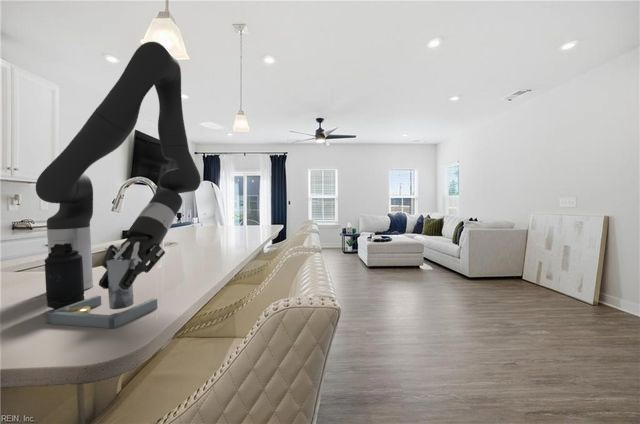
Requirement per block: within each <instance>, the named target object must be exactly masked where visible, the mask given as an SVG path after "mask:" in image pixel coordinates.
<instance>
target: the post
mask: <svg viewBox="0 0 640 424" xmlns="http://www.w3.org/2000/svg"><path fill="white" fill-rule="evenodd" d="M130 265H131V258H122V257H121V258H119V259H112V260H108V261H107V269H106V270H107V276H108V289H107V291H108V306H109V308H108V309H110V310H121V309H127V308H130V307H132V306H133V305H134V288H133V287H134V285H133V284H134V283H133V284H132V285H131V286H130V287H129V289H128V290H123V289H122V288H121V287H119V283H120V281H121V280H122V278H123V276H124V275H125V273H126V272H127V270H130Z"/></svg>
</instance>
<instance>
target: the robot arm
mask: <svg viewBox="0 0 640 424" xmlns="http://www.w3.org/2000/svg"><path fill="white" fill-rule="evenodd" d="M153 87H154V88H155V91H156V94H157V98H158V106H159V107H158V108H159V109H158V110H159V113H158V119H157V133H158V140H159V145H160V149H161V155H162V157H163V158H164V159H165V160H167V161H174V162H175V164H176V166H177V168H172V169H168V170H166V171H164V172H163V173H162V174H161V175H160V177H159V178H158V183H157V185H156V189H155V193H154V194H153V196H152V198H151V199H150V201H149V202H148V204H146V206H145V207H144V208H143V209H142V210H141V211H140V213H139V214H138V216H137V217H136V218H135V220H134V221H133V223H132V225H131V226H130V227H129V229H128V230H127V233H126V234H127V236H126V237H127V238H126V239H125V241H123V242H122V243H121V244H120V245H118V246H115V244H111V245H109V246H108V248H107V250H106V253H105V255H104V257H103V258H104V259H103V260H102V262H101V267H103V268H104V269H105V270H106V271H105V272H104V273H103V275H102V277H101V278H100V279H99V281H98V286H99V287H100V288H102V289H103V290H106V289H107V290H108V276H107V261H108V260H112V259H119V258H131V265H130V270H127V272H126V273H125V275H124V276H123V278H122V280H121V281H120V283H119V287H121V288H122V289H123V290H128V289H129V287H130V286H131V285H132V284H134V282H135V280H136V279H137V277H138V276H139V275H141V274H142V273H145V274H147V273H149V272H150V271H151V270H152V269H153V268H154V267H155V265H157V263H158V262H159V261H160V260H161V258H162V257H163V256H164V255H165V254H166V251H165V250H164V249H163V248H162V246H160V245H161V244H162V242H163V240H164V239H165V237H166V235H167V234H168V232H169V230H170V228H171V227H172V224H173V222H174V220H175V218H176V216H177V214H178V212H180V209H181V207H182V205H183V198H182V196H181V195H180V194H185V193H191V192H196V191H197V190H198V189H199V187H200V186H201V185H200V184H201V180H202V179H201V174H200V172H199V169H198V167H197V165H196V162H195V161H194V159H193V156H192V155H191V152H190V150H189V149H190V148H189V143H188V137H187V131H186V127H185V121H184V113H183V104H182V103H183V101H182V68H181V66H180V63H179V60H177V58H176V57H175V56H174V55H173V54H172V53H171V52H170V51H169V50H168V49H167V48H166V47H165V46H164V45H162V44H161V43H159V42H157V41H147V42H144V43H142V44H141V45H140V46H138V47H137V48H136V50H135V51H134V53H133V54H132V56H131V57H130V60H129V61H128V63H127V65H126V66H125V68H124V70H123V72H122V74H121V76H120V77H119V78H118V80H117V82H115V84H114V85H113V87H112V88H111V89H110V91H109V92H108V93H107V95H106V96H105V97H104V99H103V100H102V101H101V102H100V104H99V105H98V106H97V107H96V108H95V109H94V111H93V112H92V113H91V115H90V116H89V118H88V119H87V121H86V122H85V124H83V126H82V128H80V130H79V131H78V132H77V134H76V135H75V136H74V137H73V138H72V140H71V141H70V142H69V143H68V145H67V146H66V147H65V148H64V149H63V150H62V152H60V154H59V155H57V157H56V158H55V159H54V160H53V161H52V162H51V163H50V164H49V165H47V166H46V168H44V170H43V171H41V173H40V174H39V176H38V178H37V180H36V183H35V191H36V195H37V196H38V197H39V199H40V200H42V201H44V202H47V203H49V204H59V205H58V207H59V209H58V210H57V212H56V213H55V214H53V215H52V216H50V217H48V218H47V219H46V235H47V252H48V253H47V255H48V254H49V253H51V247H54V245H55V244H64V243H71V247H72V250H78V252H79V253H78V254H80V255H82V260H83V278H84V291H85V290H87V289H90V288H93V286H94V280H93V276H94V275H93V259H92V258H93V257H92V241H91V240H92V239H91V221H92V218H93V216H94V214H93V213H94V188H93V184H92V180H91V178H90V177H89V176H88V175H87V174H85V172H86V171H87V170H88V169H89V168H90V167H91V166H92V165H93V164H95V163H96V162H97V161H99V160H101V159H103V158H104V157H107V156H108V155H109V154H111V153H112V152H114V151H116V150H117V149H118V148H119V147H120V146H121V145H123V143H124V142H125V141H126V140H127V138H128V137H129V136H130V135H131V134H132V132H133V130H134V128H136V124H137V122H138V118H139V114H140V110H141V106H142V103H143V100H144V99H145V97H146V95H147V94H148V93H149V91H150V90H151V89H152V88H153ZM47 258H48V256H47V257H45V259H47ZM148 262H149V263H148Z"/></svg>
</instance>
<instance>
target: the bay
mask: <svg viewBox="0 0 640 424" xmlns="http://www.w3.org/2000/svg"><path fill="white" fill-rule="evenodd" d="M101 305H102V296H101V295H95V296H92V297H89V298H86V299H84V300H83V301H80V302H77V303H74V304H71V305H68V306H65V307H62V308H59V309H56V310H55V309H53V310H50V311H48V312H45V313H44V319H45V321H44V322H45V324H52V325H64V326H75V327H76V326H79V327H90V328H102V329H117V328H119V327H121V326H123V325H126V324H127V323H129V322H132V321H133V320H135V319H137V318H139V317H141V316H144V315H145V314H147V313H149V312H152V311H153V310H156V309H157V308H158V299H157V298H151V299H148V300H146V301H144V302H142V303H139V304H138V305H135V306H133V307H132V306H131V307H129V308H128V309H125V310H124V311H123V310H122V311H121V312H119V313H117V314H115V315H114V314H101V313H100V314H99V313H97V314H96V313H91V314H86V313H71V312H67V311H68V310H70V309H73V308H77V307H82V306H88V307H90V309H93V308H96V307H98V306H101Z"/></svg>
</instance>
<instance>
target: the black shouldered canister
mask: <svg viewBox="0 0 640 424" xmlns="http://www.w3.org/2000/svg"><path fill="white" fill-rule="evenodd" d="M78 253H79V252H78V250H72V247H71V243H64V244H55V245H54V247H51V253H49V254H48V253H47V257H48V258H47V259H46V258H45V259H44V275H45V294H46V301H47V302H46V306H47V307H48V308H51V309H53V310H56V309H59V308H62V307H65V306H68V305H71V304H74V303H77V302H80V301H83V300H85V290H84V278H83V260H82V255H80V254H78Z"/></svg>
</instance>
